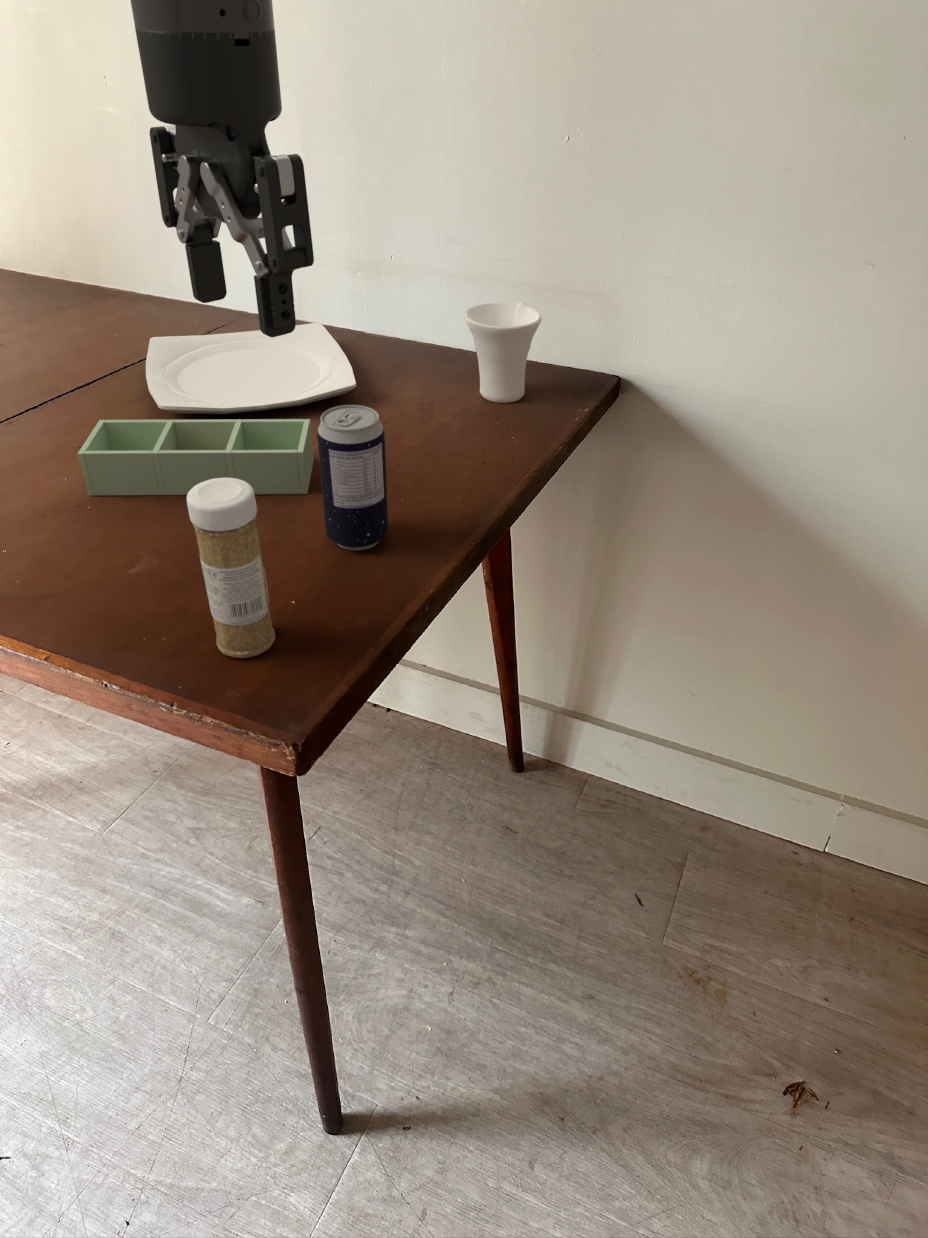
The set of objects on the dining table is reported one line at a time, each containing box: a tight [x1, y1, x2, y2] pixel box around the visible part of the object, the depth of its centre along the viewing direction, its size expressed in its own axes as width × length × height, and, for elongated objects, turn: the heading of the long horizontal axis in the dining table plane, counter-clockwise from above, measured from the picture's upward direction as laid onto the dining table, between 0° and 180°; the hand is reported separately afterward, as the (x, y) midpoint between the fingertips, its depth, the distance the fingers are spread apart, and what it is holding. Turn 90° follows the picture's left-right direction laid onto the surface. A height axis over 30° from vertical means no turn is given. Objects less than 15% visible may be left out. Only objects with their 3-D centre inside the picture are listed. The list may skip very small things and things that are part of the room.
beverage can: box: [316, 404, 389, 551], centre depth 76 cm, size 6×6×12 cm
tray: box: [77, 418, 315, 497], centre depth 87 cm, size 21×8×5 cm, turn 93°
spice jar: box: [186, 478, 276, 659], centre depth 63 cm, size 5×5×13 cm
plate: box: [145, 322, 357, 415], centre depth 107 cm, size 24×24×3 cm
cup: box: [464, 301, 542, 404], centre depth 104 cm, size 9×9×10 cm
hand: (243, 316), depth 58 cm, fingers open, 8 cm apart
